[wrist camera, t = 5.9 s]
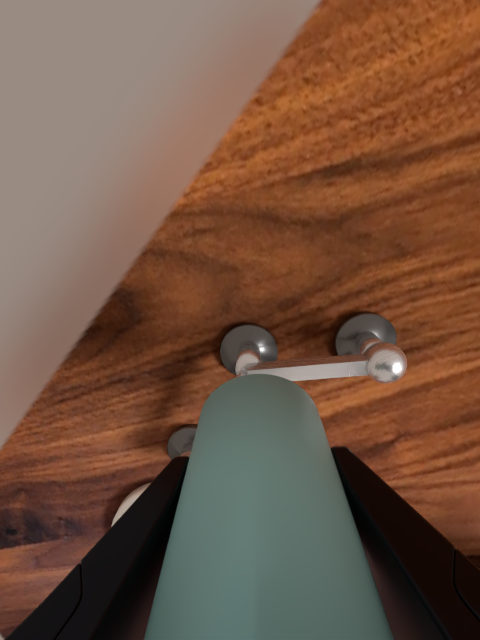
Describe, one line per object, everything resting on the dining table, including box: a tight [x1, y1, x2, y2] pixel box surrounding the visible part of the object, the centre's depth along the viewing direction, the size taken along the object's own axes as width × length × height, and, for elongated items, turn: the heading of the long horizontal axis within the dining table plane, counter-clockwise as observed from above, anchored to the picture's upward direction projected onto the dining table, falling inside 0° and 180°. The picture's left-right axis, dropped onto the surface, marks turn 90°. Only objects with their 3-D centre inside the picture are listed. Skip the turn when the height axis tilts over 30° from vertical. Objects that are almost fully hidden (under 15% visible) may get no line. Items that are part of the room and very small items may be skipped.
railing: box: [167, 312, 407, 459], centre depth 16 cm, size 13×9×4 cm
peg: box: [144, 374, 394, 640], centre depth 7 cm, size 4×4×7 cm
